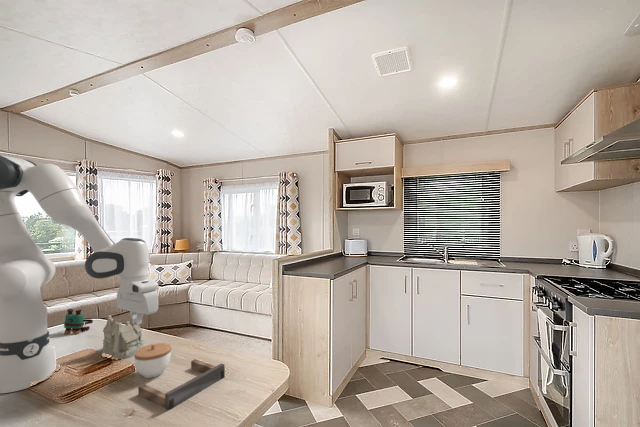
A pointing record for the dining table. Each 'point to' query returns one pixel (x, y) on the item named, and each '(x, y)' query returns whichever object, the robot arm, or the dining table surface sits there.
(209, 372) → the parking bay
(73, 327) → the binoculars
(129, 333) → the ceramic cottage
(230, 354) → the dining table surface
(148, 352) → the lidded jar
